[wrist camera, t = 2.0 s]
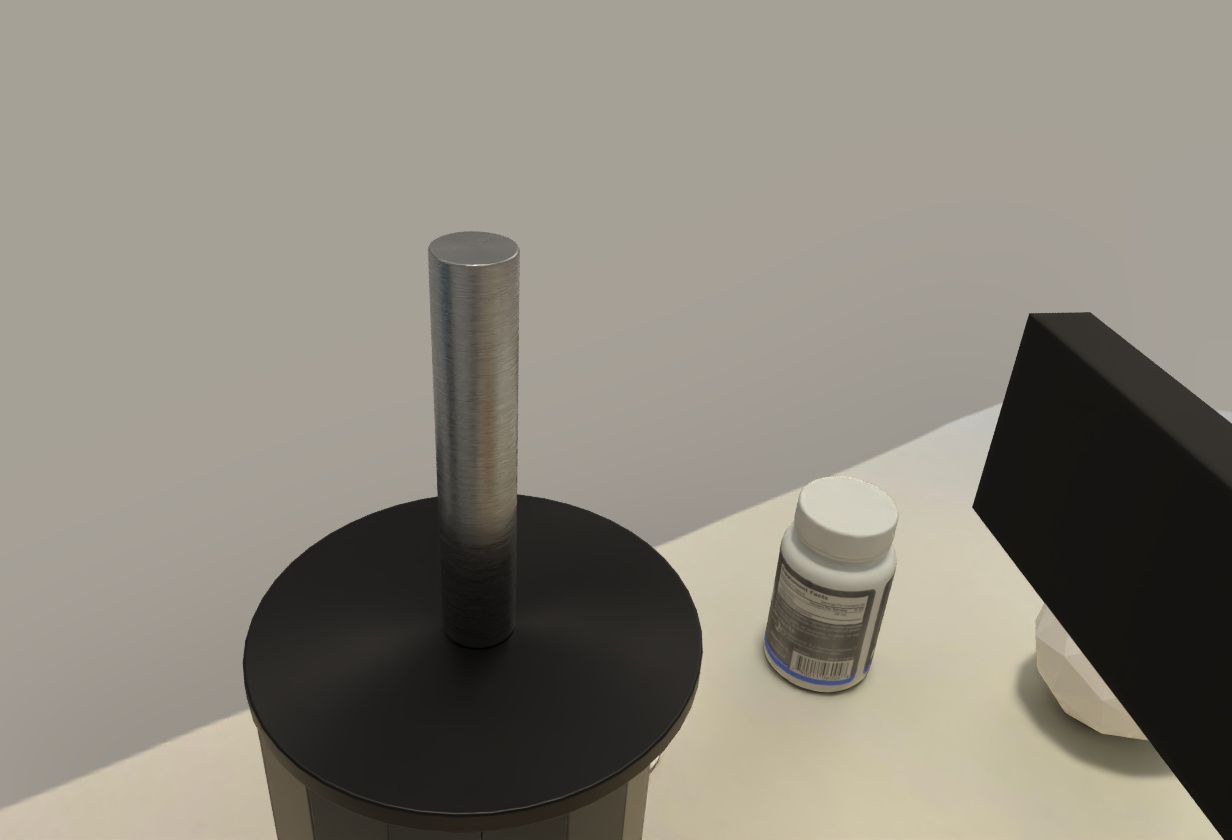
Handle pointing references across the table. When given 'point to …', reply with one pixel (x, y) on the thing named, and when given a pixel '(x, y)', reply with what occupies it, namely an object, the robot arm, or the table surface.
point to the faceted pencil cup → (333, 836)
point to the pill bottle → (832, 584)
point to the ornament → (1078, 681)
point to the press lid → (473, 616)
